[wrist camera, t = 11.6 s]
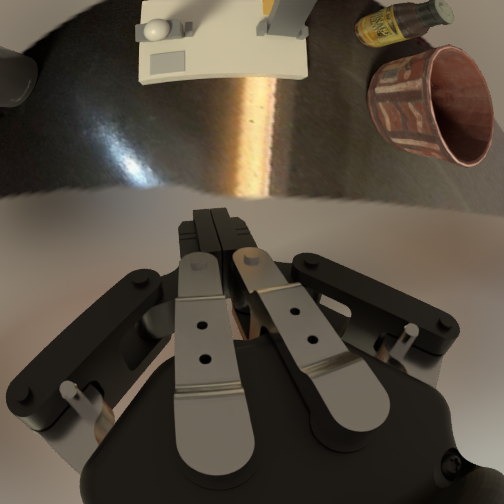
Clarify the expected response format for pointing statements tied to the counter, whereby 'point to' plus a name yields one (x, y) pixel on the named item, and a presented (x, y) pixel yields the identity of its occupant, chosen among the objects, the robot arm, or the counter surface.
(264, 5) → the switch unit
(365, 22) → the sauce bottle
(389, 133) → the pottery
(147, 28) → the grey marked lever
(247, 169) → the counter surface
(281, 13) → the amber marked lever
